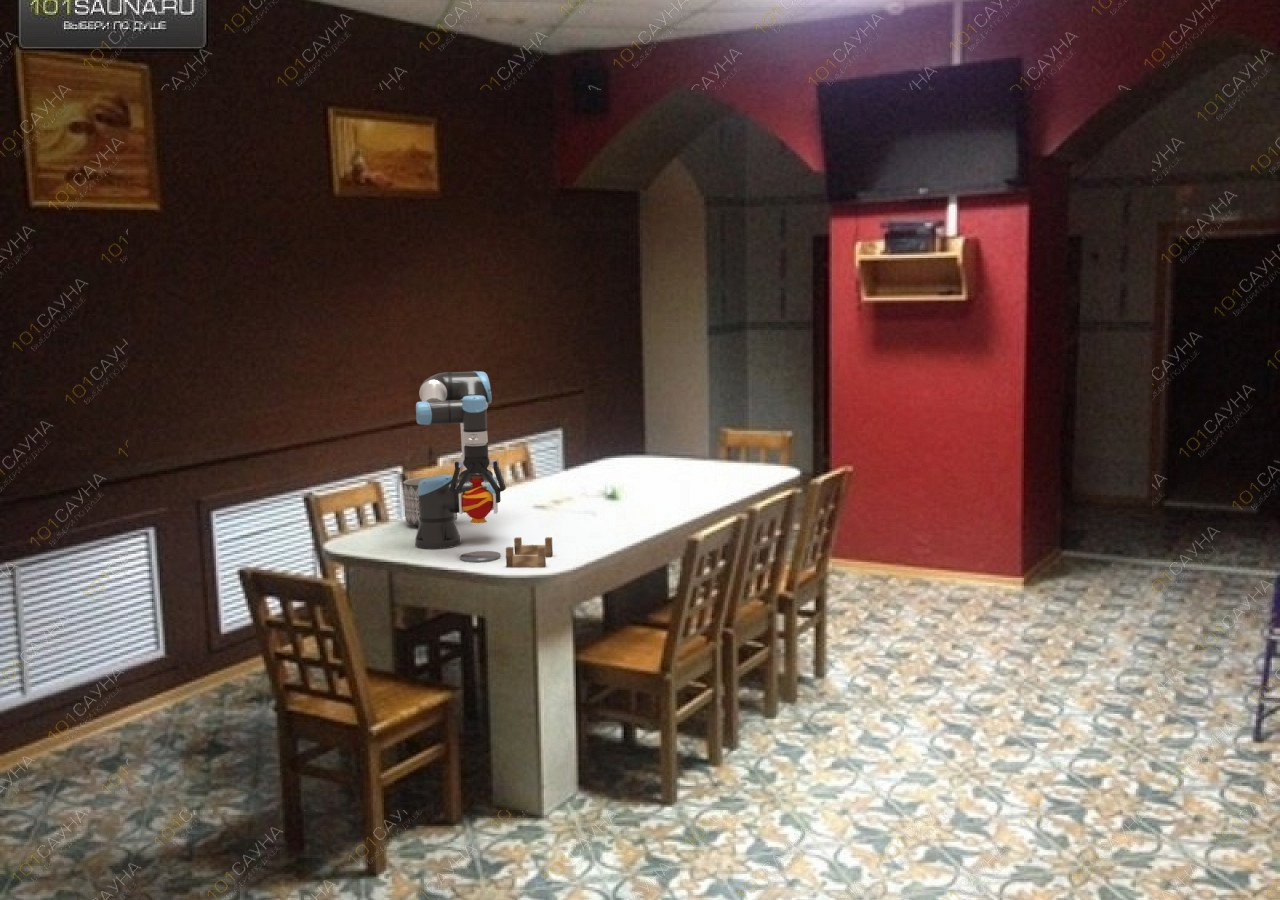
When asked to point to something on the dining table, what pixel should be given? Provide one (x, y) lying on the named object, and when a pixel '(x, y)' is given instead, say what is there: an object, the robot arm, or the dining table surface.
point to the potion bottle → (477, 500)
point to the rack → (528, 554)
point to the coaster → (480, 556)
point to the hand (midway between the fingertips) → (478, 512)
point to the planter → (413, 501)
